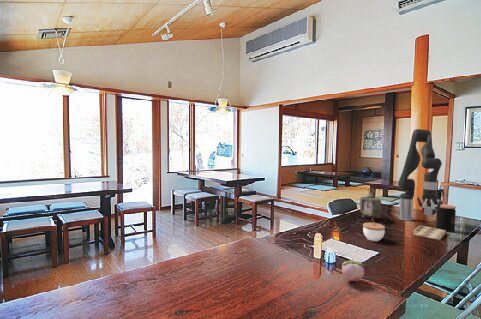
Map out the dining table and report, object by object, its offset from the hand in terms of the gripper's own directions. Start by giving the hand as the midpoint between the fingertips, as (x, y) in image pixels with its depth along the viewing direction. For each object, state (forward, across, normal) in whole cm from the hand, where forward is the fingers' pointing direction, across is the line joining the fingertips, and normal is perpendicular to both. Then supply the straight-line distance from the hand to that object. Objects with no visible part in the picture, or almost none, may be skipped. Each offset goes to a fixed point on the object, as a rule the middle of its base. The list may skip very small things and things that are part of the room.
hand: (428, 213), depth 181 cm
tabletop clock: (+16, +42, -15) cm, 48 cm away
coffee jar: (+15, -6, -23) cm, 28 cm away
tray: (+15, 0, -4) cm, 16 cm away
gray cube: (+1, 0, 0) cm, 1 cm away
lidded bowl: (+15, +22, +33) cm, 43 cm away
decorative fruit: (+15, +8, +96) cm, 97 cm away
